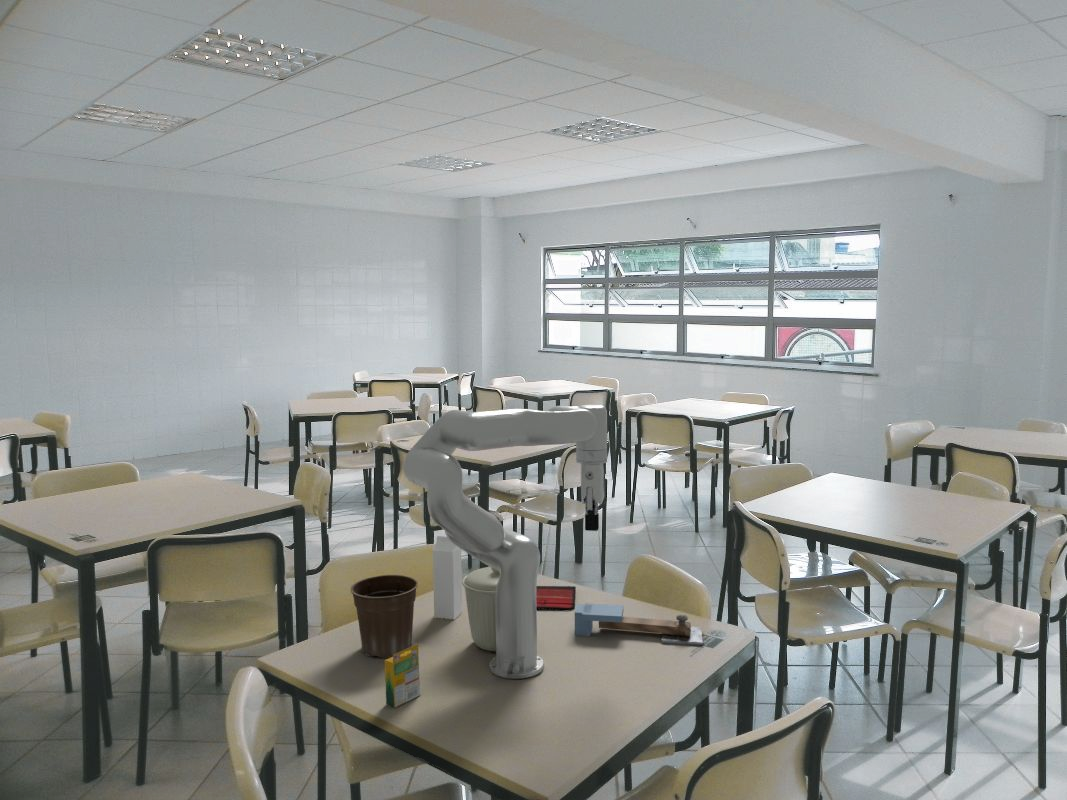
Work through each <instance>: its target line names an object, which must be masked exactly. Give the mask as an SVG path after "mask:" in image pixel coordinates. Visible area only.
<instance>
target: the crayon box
mask: <svg viewBox="0 0 1067 800" xmlns="http://www.w3.org/2000/svg"><path fill="white" fill-rule="evenodd" d="M419 660H420V658H419V643H416V644H414V645H412V647H409V648H407V649H405V650H403V651H400V652H398V653H396V654H393V657H388V658H387V659H384V680H385V700H386V705H387V704H388V705H387V706H389V705H390V707H391V706H392V708H394V709H396V708H397V707H399V706H401V705H403V704H405V703H407V702H410V701H411V700H414V699H415V698H417V697H420V695H421V684H420V682H421V681H420V663H419V662H420V661H419ZM395 707H396V708H395Z"/></svg>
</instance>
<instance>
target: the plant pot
mask: <svg viewBox="0 0 1067 800" xmlns="http://www.w3.org/2000/svg"><path fill="white" fill-rule="evenodd" d="M418 587H419V582H418V580H416V579H415V578H414V577H411V576H407V575H400V574H382V575H376V576H370V577H366V578H363V579H361V580H358V581H357V582H355V583H354V584H352V585H351V587H350V592H351V593H350V594H352V596H353V604H354V606H355V608H356V614H357V620H358V626H359V627H358V628H359V634H360V642H361V643H360V644H361V649H362V652H363V654H364V655H366V654H367V655H366V656H368V655H369V656H368V657H371V656H372V657H371V658H374V657H375V656H376V657H379V658H381V659H385V658H386V657H387V658H391V657H393V654H396V653H398V652H400V651H403V650H405V649H407V648H409V647H412V646H413V627H414V625H413V624H414V610H415V609H414V607H415V601H416V597H417V595H416V594H417V588H418Z"/></svg>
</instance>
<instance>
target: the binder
mask: <svg viewBox="0 0 1067 800" xmlns="http://www.w3.org/2000/svg"><path fill="white" fill-rule="evenodd" d="M536 602H537V610H553V609H554V610H555V609H557V610H556V611H563V610H569V611H573V610H574V609H576V586H574V585H567V586H565V585H564V586H562V585H537V586H536ZM572 609H573V610H572Z"/></svg>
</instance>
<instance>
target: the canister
mask: <svg viewBox="0 0 1067 800" xmlns="http://www.w3.org/2000/svg"><path fill="white" fill-rule="evenodd" d="M499 577H500V571H498V570H497V569H495V568H492V567H490V566H487V567H481V568H478V569H475V570H473V571H471V572H469V573H468V574H466V575H465V576H464V577H463V578H462V587H464V593H465V601H466V609H467V615H468V622H469V628H470V629H469V630H470V635H471V639H472V641H473V643H474V644H475V645H476V646H477V647H478V648H480V649H482V650H484V651H489V652H496V615H495V591H496V586H497V583H498V580H499Z"/></svg>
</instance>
